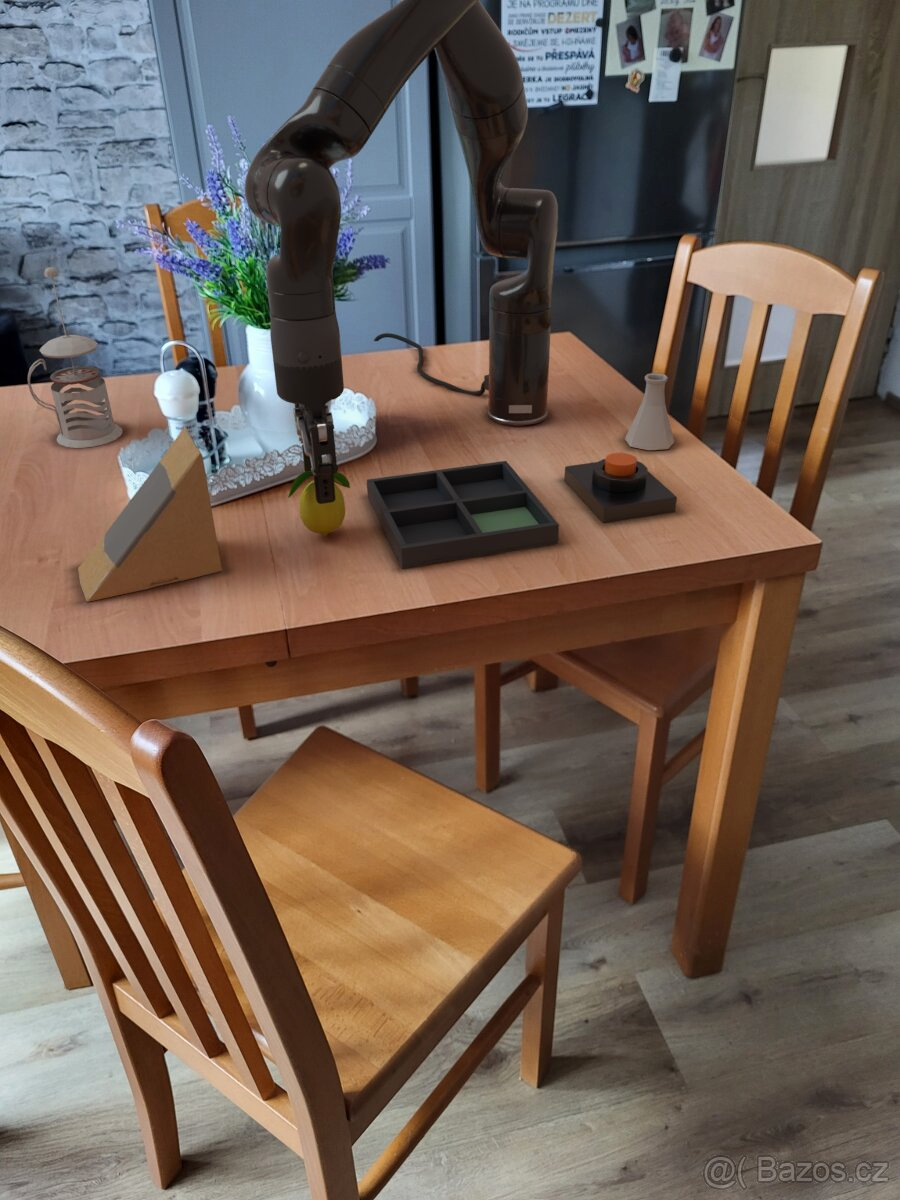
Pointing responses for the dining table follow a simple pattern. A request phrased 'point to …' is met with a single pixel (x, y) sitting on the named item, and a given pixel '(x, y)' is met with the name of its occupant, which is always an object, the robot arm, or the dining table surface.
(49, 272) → the french press
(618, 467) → the button
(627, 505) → the control box
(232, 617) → the dining table surface
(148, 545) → the sandwich container
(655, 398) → the flask
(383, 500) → the tray
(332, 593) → the dining table surface
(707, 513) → the dining table surface
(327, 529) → the lemon
